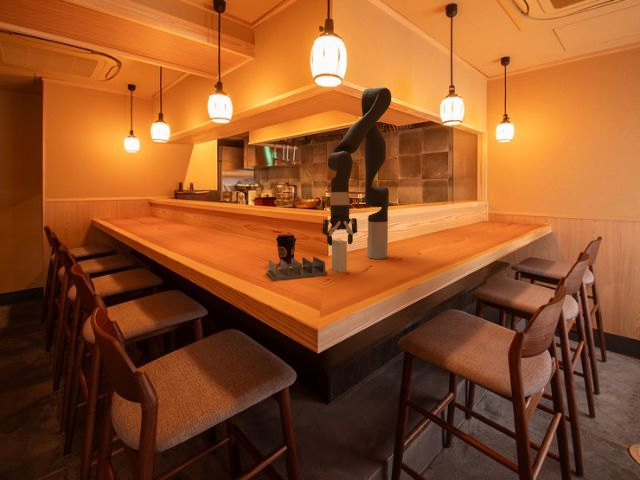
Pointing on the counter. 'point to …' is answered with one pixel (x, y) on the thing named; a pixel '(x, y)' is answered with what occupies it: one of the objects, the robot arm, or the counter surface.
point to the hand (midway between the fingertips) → (340, 244)
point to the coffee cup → (286, 247)
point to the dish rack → (297, 269)
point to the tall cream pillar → (339, 255)
